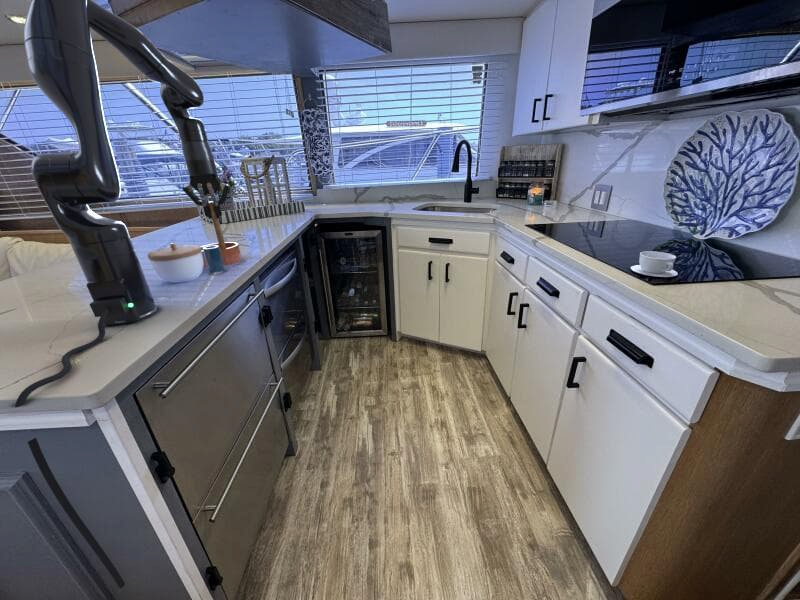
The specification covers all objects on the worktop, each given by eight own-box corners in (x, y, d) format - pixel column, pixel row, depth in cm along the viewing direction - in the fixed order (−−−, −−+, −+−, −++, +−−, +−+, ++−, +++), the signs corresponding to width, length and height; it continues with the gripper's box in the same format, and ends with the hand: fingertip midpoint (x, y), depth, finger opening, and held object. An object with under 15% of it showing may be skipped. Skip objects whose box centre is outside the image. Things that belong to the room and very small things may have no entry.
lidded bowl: (173, 291, 85) (159, 250, 81) (149, 284, 91) (135, 246, 87) (218, 277, 95) (207, 240, 91) (194, 271, 101) (183, 237, 97)
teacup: (621, 267, 89) (625, 251, 87) (656, 265, 89) (661, 249, 87) (648, 279, 80) (653, 261, 78) (687, 277, 80) (694, 259, 78)
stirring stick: (227, 257, 107) (213, 201, 99) (221, 258, 106) (206, 202, 99) (229, 256, 108) (214, 201, 101) (223, 257, 108) (208, 201, 101)
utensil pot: (223, 273, 98) (216, 248, 95) (208, 275, 97) (200, 249, 94) (226, 269, 102) (220, 244, 99) (212, 271, 101) (205, 246, 98)
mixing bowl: (238, 267, 104) (233, 248, 102) (196, 271, 102) (191, 252, 99) (245, 257, 115) (241, 240, 113) (208, 260, 113) (203, 244, 110)
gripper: (168, 159, 90) (187, 221, 97) (221, 157, 93) (235, 218, 100) (178, 159, 97) (195, 218, 104) (227, 158, 100) (240, 214, 107)
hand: (215, 217), depth 102 cm, fingers closed on stirring stick, 2 cm apart
